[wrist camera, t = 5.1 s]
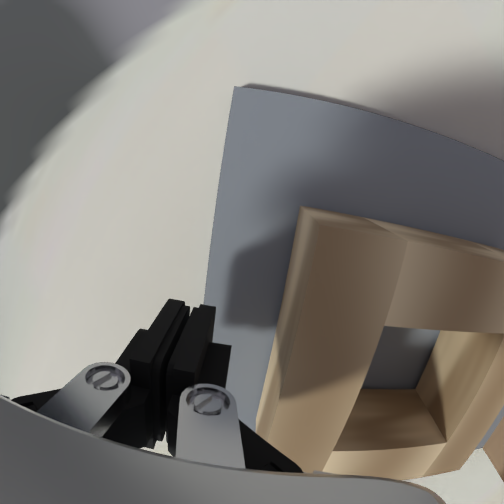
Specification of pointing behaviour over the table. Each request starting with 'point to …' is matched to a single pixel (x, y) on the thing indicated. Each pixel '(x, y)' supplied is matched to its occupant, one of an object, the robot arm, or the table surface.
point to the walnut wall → (496, 448)
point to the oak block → (365, 343)
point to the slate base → (337, 200)
